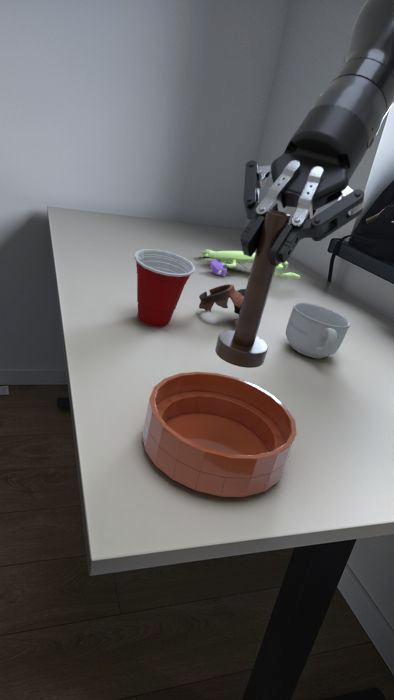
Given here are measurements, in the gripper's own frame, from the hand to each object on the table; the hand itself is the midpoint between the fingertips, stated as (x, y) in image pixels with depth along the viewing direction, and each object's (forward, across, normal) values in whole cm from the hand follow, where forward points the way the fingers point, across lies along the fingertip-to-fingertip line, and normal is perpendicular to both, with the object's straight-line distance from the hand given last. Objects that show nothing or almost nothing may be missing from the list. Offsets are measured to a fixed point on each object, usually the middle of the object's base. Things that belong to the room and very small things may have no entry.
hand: (259, 255), depth 48 cm
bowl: (+17, 0, +18) cm, 25 cm away
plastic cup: (-1, -27, +36) cm, 45 cm away
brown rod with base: (+7, 0, +10) cm, 12 cm away
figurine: (-35, -32, +70) cm, 85 cm away
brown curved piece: (-11, -20, +46) cm, 51 cm away
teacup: (-11, -2, +46) cm, 48 cm away
